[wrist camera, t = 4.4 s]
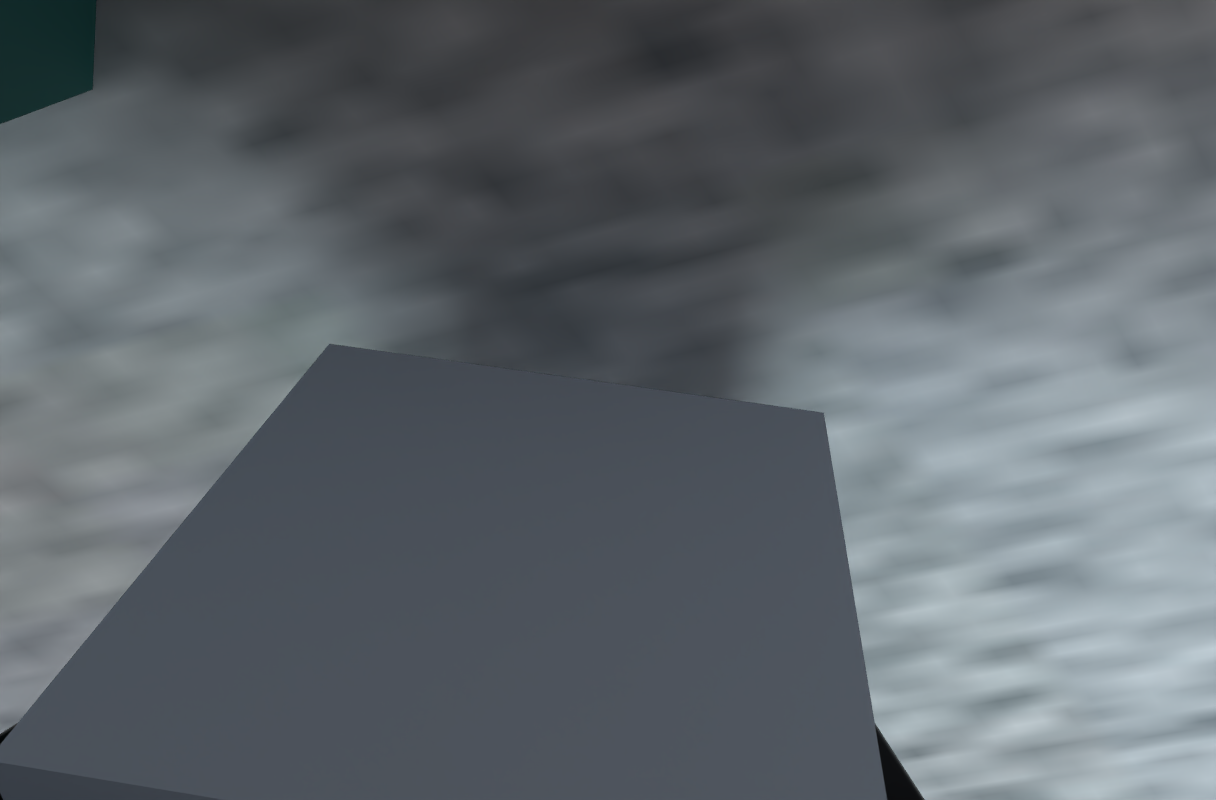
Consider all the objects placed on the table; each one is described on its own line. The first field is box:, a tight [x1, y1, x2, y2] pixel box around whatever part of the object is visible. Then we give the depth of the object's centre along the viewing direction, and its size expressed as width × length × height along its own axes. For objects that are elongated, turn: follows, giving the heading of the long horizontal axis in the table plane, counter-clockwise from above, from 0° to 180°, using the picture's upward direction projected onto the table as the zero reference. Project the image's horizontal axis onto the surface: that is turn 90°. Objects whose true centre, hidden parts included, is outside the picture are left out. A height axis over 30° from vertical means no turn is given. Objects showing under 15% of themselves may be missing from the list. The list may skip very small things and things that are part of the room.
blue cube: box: [0, 344, 887, 800], centre depth 8 cm, size 5×5×5 cm
